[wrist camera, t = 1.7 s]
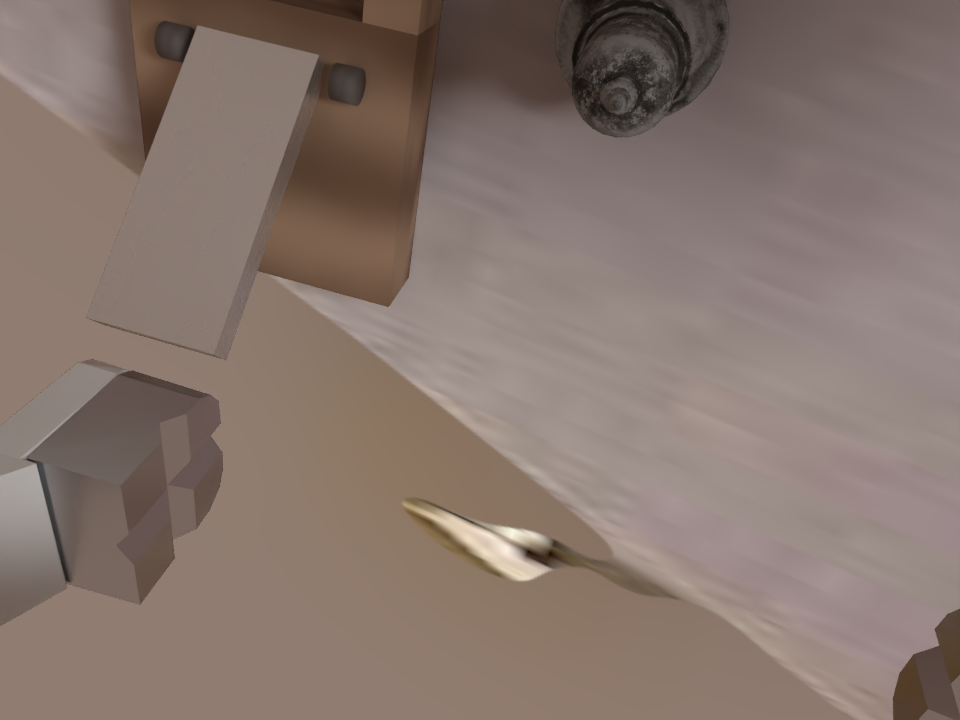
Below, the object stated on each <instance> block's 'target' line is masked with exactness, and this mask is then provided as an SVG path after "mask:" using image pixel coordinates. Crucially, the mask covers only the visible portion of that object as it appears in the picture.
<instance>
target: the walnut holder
mask: <svg viewBox="0 0 960 720" xmlns="http://www.w3.org/2000/svg"><path fill="white" fill-rule="evenodd" d="M442 1H443V0H364V2H361V1H357V0H129V5H130V15H131V24H132V34H133V44H134V54H135V63H136V73H137V83H138V92H139V102H140V112H141V122H142V131H143V141H144V151H145V160H146V159H147V157H148V154H149V151H150V149H151V146H152V144H153V141H154V138H155V136H156V133H157V130H158V128H159V125H160V123H161V120H162V117H163V115H164V112H165V109H166V107H167V104H168V102H169V99H170V96H171V94H172V91H173V88H174V86H175V83H176V81H177V78H178V75H179V73H180V70H181V67H182V65H183V62H184V60H185V57H186V54H187V52H188V49H189V46H190V44H191V41H192V39H193V36H194V33H195V31H196V28H197V25H198V26H202V27H206V28H210V29H214V30H219V31H223V32H227V33H231V34H235V35H239V36H243V37H247V38H251V39H256V40H260V41H264V42H268V43H272V44H276V45H280V46H284V47H288V48H293V49H297V50H301V51H305V52H309V53H313V54H317V55H319V56H320V58H321V60H322V62H323V65H324V67H325V69H326V71H327V73H326V76H325V79H324V82H323V85H322V88H321V91H320V94H319V96H318V99H317V102H316V105H315V108H314V111H313V114H312V116H311V119H310V122H309V125H308V128H307V131H306V134H305V137H304V139H303V142H302V145H301V148H300V151H299V154H298V157H297V160H296V162H295V165H294V168H293V171H292V174H291V177H290V180H289V182H288V185H287V188H286V191H285V194H284V197H283V200H282V203H281V205H280V208H279V211H278V214H277V217H276V220H275V223H274V226H273V228H272V231H271V234H270V237H269V240H268V243H267V246H266V248H265V251H264V254H263V257H262V260H261V263H260V266H259V269H258V271H260V272H264V273H267V274H271V275H274V276H278V277H282V278H285V279H289V280H293V281H296V282H300V283H303V284H307V285H311V286H314V287H318V288H322V289H325V290H329V291H333V292H336V293H340V294H343V295H347V296H351V297H354V298H358V299H362V300H365V301H369V302H372V303H376V304H380V305H383V306H387V307H389V306H390V304H391V303H392V301H393V300H394V298H395V297H396V295H397V294H398V292H399V291H400V289H401V288H402V286H403V285H404V283H405V282H406V280H407V279H408V278H409V270H410V262H411V254H412V246H413V237H414V229H415V221H416V213H417V205H418V197H419V188H420V180H421V172H422V164H423V156H424V148H425V140H426V131H427V123H428V115H429V107H430V99H431V91H432V82H433V74H434V66H435V58H436V50H437V42H438V33H439V25H440V17H441V9H442Z"/></svg>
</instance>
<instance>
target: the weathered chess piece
mask: <svg viewBox="0 0 960 720" xmlns="http://www.w3.org/2000/svg"><path fill="white" fill-rule="evenodd" d="M728 28H729V15H728V10H727V5H726V0H563V1H562V3H561V5H560V9H559V14H558V19H557V24H556V29H555V35H556V53H557V57H558V60H559V63H560V67H561V70H562V73H563V75H564V77H565V79H566V80H567V82H568V83H569V85H570V87H571V88H572V96H573V99H574V103H575V106H576V109H577V111H578V112H579V114H580V115H581V117H582V118H583V120H584V121H585V122H586V123H587V124H588V125H589V126H591V127H592V128H593V129H595V130H597V131H598V132H600V133H602V134H604V135H609V136H613V137H631V136H635V135H638V134H642V133H643V132H645V131H647V130H649V129H650V128H652V127H654V126H655V125H656V124H657V123H658V122H659V121H660V120H661V119H662V118H663V117H665V116H668V115H671V114H673V113H674V112H676V111H678V110H680V109H681V108H683V107H685V106H686V105H688V104H690V103H691V102H692V101H693V100H694V99H695V98H696V97H697V96H698V95H699V94H700V93H701V92H702V91H703V90H704V89H705V88H706V87H707V86H708V85H709V83H710V81H711V80H712V78H713V77H714V75H715V73H716V72H717V70H718V69H719V67H720V64H721V61H722V58H723V55H724V52H725V49H726V46H727V43H728Z"/></svg>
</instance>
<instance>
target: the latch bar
mask: <svg viewBox="0 0 960 720" xmlns="http://www.w3.org/2000/svg"><path fill="white" fill-rule="evenodd" d="M326 73H327V71H326V69H325V67H324V65H323V62H322V60H321V58H320V56H319V55H317V54H313V53H309V52H305V51H301V50H297V49H293V48H288V47H284V46H280V45H276V44H272V43H268V42H264V41H260V40H256V39H251V38H247V37H243V36H239V35H235V34H231V33H227V32H223V31H219V30H214V29H210V28H206V27H202V26H198V25H197V28H196V31H195V33H194V36H193V39H192V41H191V44H190V46H189V49H188V52H187V54H186V57H185V60H184V62H183V65H182V67H181V70H180V73H179V75H178V78H177V81H176V83H175V86H174V88H173V91H172V94H171V96H170V99H169V102H168V104H167V107H166V109H165V112H164V115H163V117H162V120H161V123H160V125H159V128H158V130H157V133H156V136H155V138H154V141H153V144H152V146H151V149H150V151H149V154H148V157H147V159H146V162H145V165H144V167H143V170H142V172H141V175H140V178H139V180H138V183H137V186H136V188H135V191H134V193H133V196H132V199H131V201H130V204H129V207H128V209H127V212H126V214H125V217H124V220H123V222H122V225H121V228H120V230H119V233H118V235H117V238H116V241H115V243H114V246H113V249H112V251H111V254H110V256H109V259H108V262H107V264H106V267H105V270H104V272H103V275H102V277H101V280H100V283H99V285H98V288H97V291H96V293H95V296H94V298H93V301H92V304H91V306H90V309H89V312H88V314H87V318H88V319H90V320H93V321H95V322H98V323H100V324H103V325H106V326H110V327H113V328H117V329H120V330H123V331H127V332H130V333H134V334H137V335H140V336H144V337H148V338H151V339H154V340H158V341H161V342H165V343H168V344H172V345H175V346H178V347H182V348H185V349H189V350H193V351H196V352H199V353H203V354H206V355H210V356H213V357H216V358H220V359H224V360H227V358H228V354H229V351H230V349H231V346H232V343H233V340H234V337H235V335H236V332H237V329H238V326H239V323H240V320H241V317H242V314H243V312H244V309H245V306H246V303H247V300H248V297H249V294H250V291H251V289H252V286H253V283H254V280H255V277H256V274H257V271H258V269H259V266H260V263H261V260H262V257H263V254H264V251H265V248H266V246H267V243H268V240H269V237H270V234H271V231H272V228H273V226H274V223H275V220H276V217H277V214H278V211H279V208H280V205H281V203H282V200H283V197H284V194H285V191H286V188H287V185H288V182H289V180H290V177H291V174H292V171H293V168H294V165H295V162H296V160H297V157H298V154H299V151H300V148H301V145H302V142H303V139H304V137H305V134H306V131H307V128H308V125H309V122H310V119H311V116H312V114H313V111H314V108H315V105H316V102H317V99H318V96H319V94H320V91H321V88H322V85H323V82H324V79H325V76H326Z"/></svg>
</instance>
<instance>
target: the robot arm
mask: <svg viewBox="0 0 960 720" xmlns="http://www.w3.org/2000/svg"><path fill="white" fill-rule="evenodd" d="M220 424H221V419H220V409H219V401H218V400H217V399H215V398H214V397H213V396H211V395H209V394H206V393H203V392H199V391H196V390H193V389H190V388H187V387H184V386H180V385H177V384H174V383H171V382H168V381H164V380H161V379H158V378H154V377H151V376H148V375H145V374H142V373H139V372H135V371H129V370H125V369H122V368H119V367H116V366H113V365H109V364H107V363H104V362H100V361H97V360H94V359H91V360H86V361H82V362H78V363H77V364H75V365H74V366H73V367H72V368H70V369H69V370H68V371H67V372H65V373H64V374H63V375H62V376H61V377H59V378H58V379H57V380H56V381H54V382H53V383H52V384H51V385H50V386H49V387H47V388H46V389H45V390H44V391H42V392H41V393H40V394H39V395H37V396H36V397H35V398H34V399H32V400H31V401H30V402H29V403H28V404H27V405H25V406H24V407H23V408H21V409H20V410H19V411H18V412H17V413H15V414H14V415H13V416H12V417H10V418H9V419H8V420H7V421H5V422H4V423H3V424H2V425H1V426H0V626H1V625H3V624H5V623H7V622H8V621H10V620H12V619H14V618H16V617H17V616H19V615H21V614H23V613H24V612H26V611H28V610H30V609H32V608H33V607H35V606H37V605H39V604H40V603H42V602H44V601H46V600H48V599H49V598H51V597H53V596H55V595H56V594H58V593H60V592H62V591H63V590H65V589H66V588H67V584H69V585H73V586H76V587H80V588H83V589H87V590H90V591H94V592H97V593H101V594H104V595H108V596H111V597H115V598H118V599H121V600H125V601H129V602H132V603H135V604H139V605H140V604H141V603H142V602H143V600H144V599H145V597H146V596H147V595H148V594H149V592H150V591H151V589H152V588H153V587H154V586H155V584H156V583H157V581H158V580H159V579H160V577H161V576H162V575H163V573H164V572H165V571H166V569H167V568H168V567H169V565H170V564H171V563H172V561H173V560H174V559H175V555H174V546H173V539H175V538H177V537H180V536H182V535H184V534H186V533H189V532H191V531H193V530H195V529H197V528H198V526H199V525H200V523H201V522H202V520H203V519H204V518H205V516H206V515H207V513H208V512H209V511H210V509H211V506H212V504H213V502H214V499H215V497H216V494H217V492H218V490H219V487H220V482H221V477H222V471H223V453H222V451H221V450H220V448H219V447H218V445H217V444H216V443H215V441H214V440H213V439H212V437H211V435H212V434H213V432H214V431H215V430H216V428H217V427H218V426H219V425H220ZM935 632H936V635H937V639H938V643H939V646H937V647H934V648H931V649H928V650H925V651H922V652H919V653H916V654H913V656H912V657H911V659H910V660H909V661H908V663H907V664H906V665H905V667H904V668H903V669H902V671H901V672H900V673H899V677H898V681H897V684H896V688H895V692H894V696H893V720H960V609H958V610H956V611H954V612H951V613H949V614H947V615H946V617H945V618H944V619H943V620H942V621H941V622H940V623H939V625H938V626H937V627H936V628H935Z"/></svg>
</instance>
